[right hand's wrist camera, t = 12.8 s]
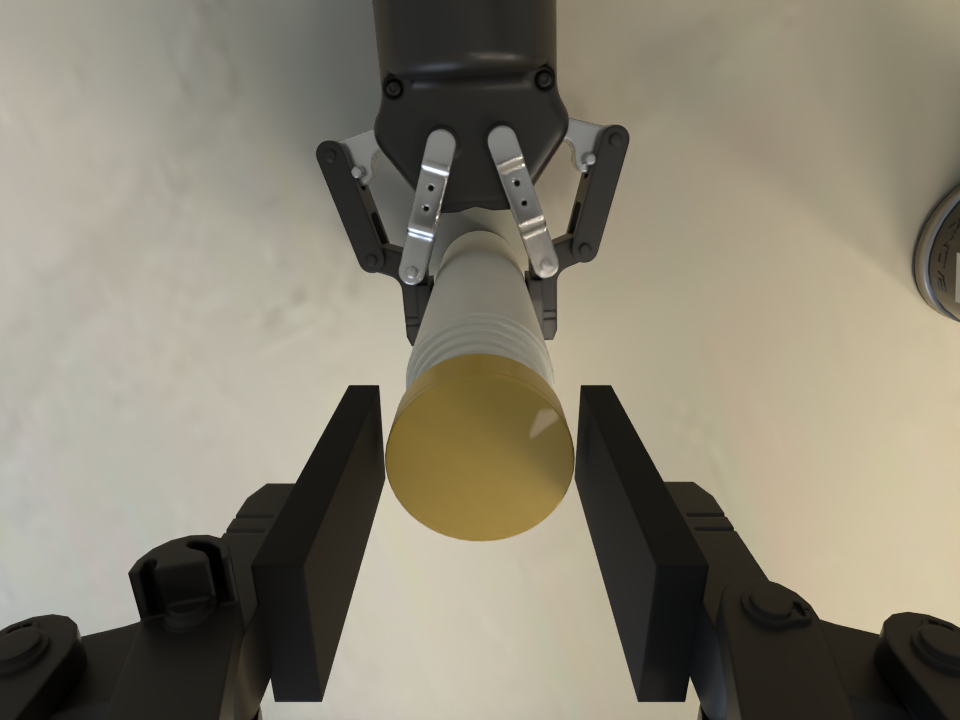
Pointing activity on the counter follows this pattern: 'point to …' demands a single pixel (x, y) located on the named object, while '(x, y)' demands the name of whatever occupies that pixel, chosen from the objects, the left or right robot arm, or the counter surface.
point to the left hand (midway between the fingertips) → (483, 347)
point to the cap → (479, 448)
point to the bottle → (480, 309)
